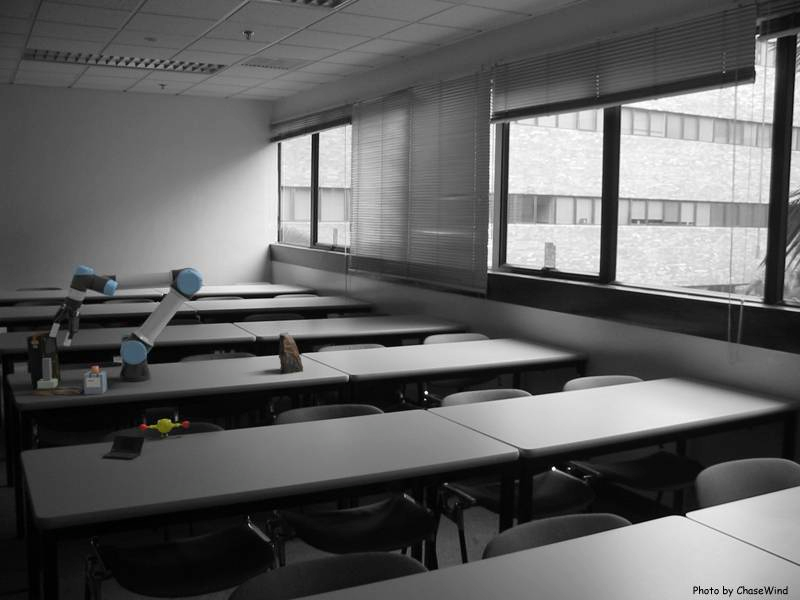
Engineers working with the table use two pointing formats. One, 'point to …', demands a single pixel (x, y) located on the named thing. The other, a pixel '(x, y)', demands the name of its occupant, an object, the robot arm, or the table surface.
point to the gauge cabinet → (95, 382)
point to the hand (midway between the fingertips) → (59, 341)
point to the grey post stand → (47, 375)
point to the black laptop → (125, 448)
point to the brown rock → (289, 355)
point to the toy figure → (164, 426)
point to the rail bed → (58, 390)
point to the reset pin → (95, 370)
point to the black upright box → (42, 356)
